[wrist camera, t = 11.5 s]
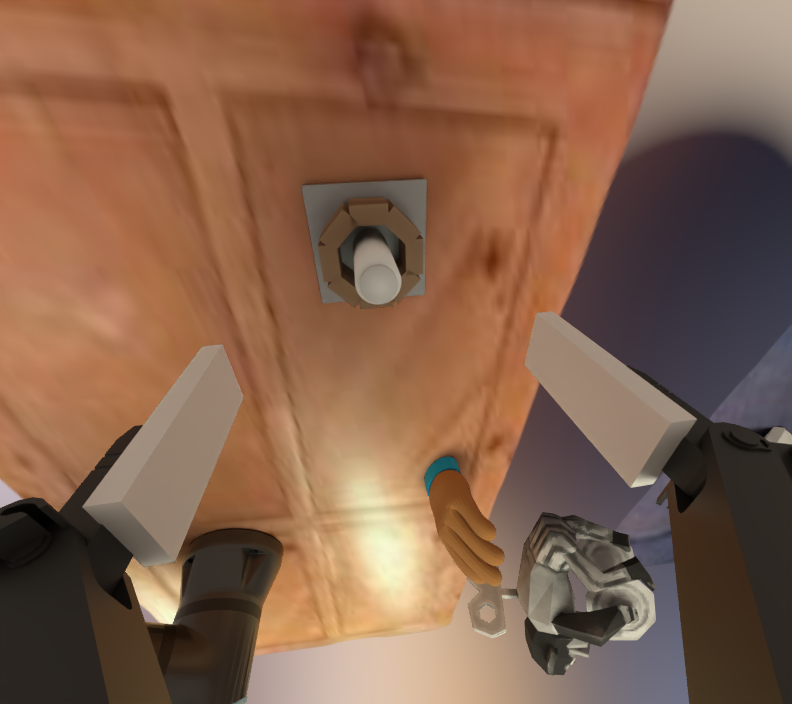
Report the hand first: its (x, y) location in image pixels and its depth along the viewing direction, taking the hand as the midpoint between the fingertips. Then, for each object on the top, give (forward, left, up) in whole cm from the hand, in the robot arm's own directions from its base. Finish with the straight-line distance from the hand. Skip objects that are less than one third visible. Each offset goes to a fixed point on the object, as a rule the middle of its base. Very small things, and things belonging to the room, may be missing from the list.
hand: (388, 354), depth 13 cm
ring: (0, 0, -17) cm, 17 cm away
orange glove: (+9, -37, -18) cm, 42 cm away
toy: (+30, -63, -18) cm, 72 cm away
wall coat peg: (0, 0, -18) cm, 18 cm away
